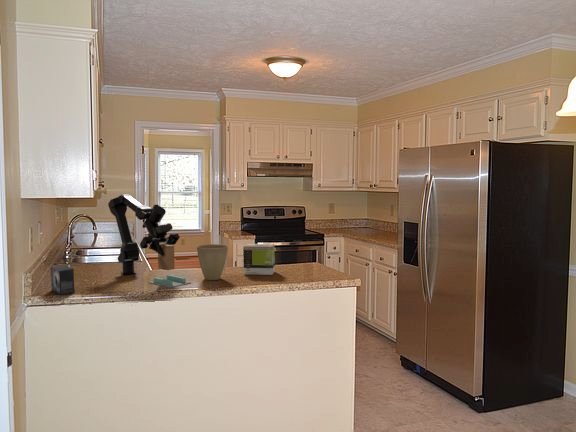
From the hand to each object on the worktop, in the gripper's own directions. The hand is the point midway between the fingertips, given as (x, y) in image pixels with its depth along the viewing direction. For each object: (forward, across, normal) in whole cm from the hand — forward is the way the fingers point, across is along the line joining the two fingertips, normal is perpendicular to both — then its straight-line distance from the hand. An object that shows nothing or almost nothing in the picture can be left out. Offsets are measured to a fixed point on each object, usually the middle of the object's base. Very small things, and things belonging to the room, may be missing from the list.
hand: (167, 254), depth 223 cm
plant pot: (+14, +21, +5) cm, 26 cm away
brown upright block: (+4, 0, +6) cm, 7 cm away
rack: (+9, +2, +10) cm, 14 cm away
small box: (-5, -39, +24) cm, 46 cm away
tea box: (+19, +46, 0) cm, 50 cm away
